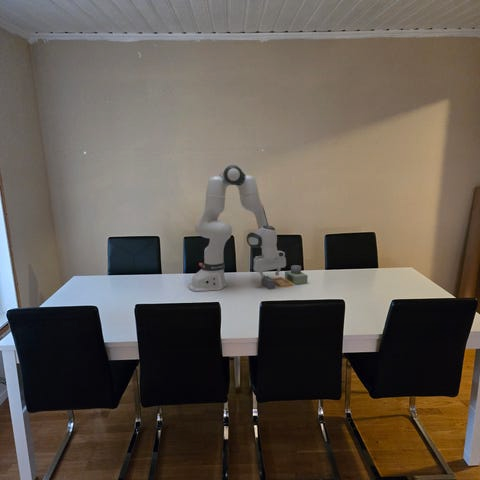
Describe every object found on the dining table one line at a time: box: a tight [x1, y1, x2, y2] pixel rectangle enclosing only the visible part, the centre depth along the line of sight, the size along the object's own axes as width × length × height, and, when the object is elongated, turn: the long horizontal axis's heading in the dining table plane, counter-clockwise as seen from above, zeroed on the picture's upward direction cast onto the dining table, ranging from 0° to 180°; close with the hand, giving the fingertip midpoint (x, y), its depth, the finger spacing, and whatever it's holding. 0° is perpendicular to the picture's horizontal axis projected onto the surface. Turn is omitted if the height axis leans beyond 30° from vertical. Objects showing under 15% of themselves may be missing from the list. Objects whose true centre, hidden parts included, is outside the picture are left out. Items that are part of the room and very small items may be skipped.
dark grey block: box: [260, 275, 276, 290], centre depth 222 cm, size 4×10×5 cm, turn 23°
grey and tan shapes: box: [271, 264, 309, 288], centre depth 230 cm, size 18×14×9 cm
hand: (270, 276), depth 223 cm, fingers open, 8 cm apart
